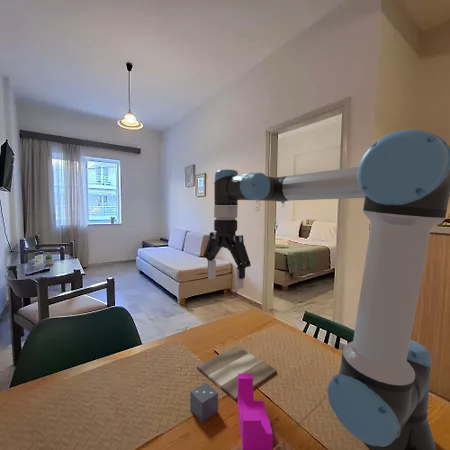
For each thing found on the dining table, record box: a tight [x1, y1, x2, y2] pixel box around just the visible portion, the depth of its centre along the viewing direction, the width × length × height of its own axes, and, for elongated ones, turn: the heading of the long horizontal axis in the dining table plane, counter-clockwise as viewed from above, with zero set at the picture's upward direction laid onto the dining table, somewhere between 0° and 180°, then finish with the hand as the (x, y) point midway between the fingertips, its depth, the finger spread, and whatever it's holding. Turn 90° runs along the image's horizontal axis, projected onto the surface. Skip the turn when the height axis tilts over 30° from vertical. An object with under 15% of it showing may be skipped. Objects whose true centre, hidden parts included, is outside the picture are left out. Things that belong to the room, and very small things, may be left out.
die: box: [189, 382, 219, 423], centre depth 64 cm, size 5×5×5 cm
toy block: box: [236, 374, 274, 450], centre depth 61 cm, size 15×6×8 cm, turn 1°
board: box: [196, 345, 278, 401], centre depth 80 cm, size 18×18×1 cm
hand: (224, 283), depth 83 cm, fingers open, 13 cm apart
